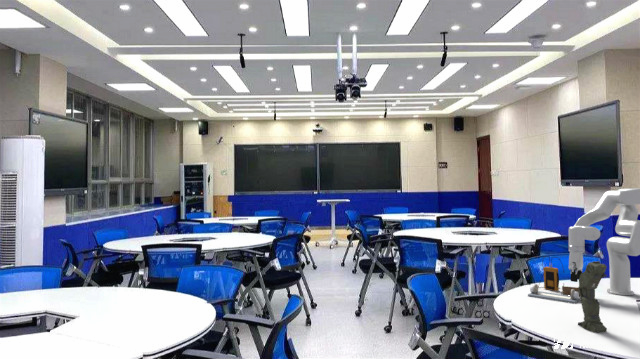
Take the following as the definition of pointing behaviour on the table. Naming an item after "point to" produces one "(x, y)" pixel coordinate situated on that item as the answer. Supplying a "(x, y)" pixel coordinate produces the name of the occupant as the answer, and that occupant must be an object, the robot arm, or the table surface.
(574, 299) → the pipe run
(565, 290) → the wood plank
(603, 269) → the mechanical leg
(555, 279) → the multimeter
